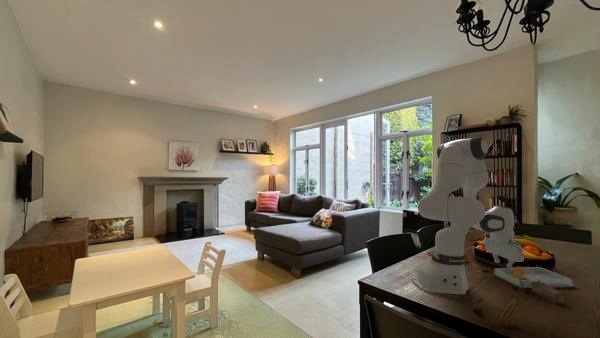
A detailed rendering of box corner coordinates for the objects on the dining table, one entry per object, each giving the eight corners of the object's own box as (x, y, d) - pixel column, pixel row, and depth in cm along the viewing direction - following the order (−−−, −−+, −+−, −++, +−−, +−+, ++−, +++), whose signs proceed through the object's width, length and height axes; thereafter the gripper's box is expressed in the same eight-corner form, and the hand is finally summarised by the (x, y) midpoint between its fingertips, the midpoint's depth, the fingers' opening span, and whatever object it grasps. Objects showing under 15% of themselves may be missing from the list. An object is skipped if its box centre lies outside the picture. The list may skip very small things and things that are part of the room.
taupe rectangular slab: (553, 304, 98) (553, 293, 98) (531, 292, 108) (531, 281, 108) (563, 305, 98) (563, 293, 98) (540, 292, 108) (540, 281, 108)
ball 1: (523, 278, 119) (514, 271, 121) (519, 276, 123) (510, 270, 124) (528, 271, 119) (519, 265, 121) (524, 269, 123) (515, 264, 124)
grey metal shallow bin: (540, 287, 111) (540, 280, 111) (511, 274, 126) (511, 267, 126) (572, 286, 112) (572, 279, 112) (540, 273, 127) (540, 267, 127)
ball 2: (510, 273, 121) (518, 269, 119) (517, 282, 118) (526, 277, 117) (508, 274, 118) (517, 270, 116) (516, 283, 116) (525, 278, 114)
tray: (521, 288, 111) (521, 281, 111) (494, 274, 125) (494, 268, 125) (538, 287, 111) (538, 280, 111) (509, 274, 126) (509, 268, 126)
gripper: (527, 243, 121) (528, 273, 121) (493, 232, 142) (493, 258, 142) (515, 243, 121) (515, 273, 121) (482, 233, 142) (482, 258, 141)
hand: (503, 265), depth 132 cm, fingers open, 6 cm apart
